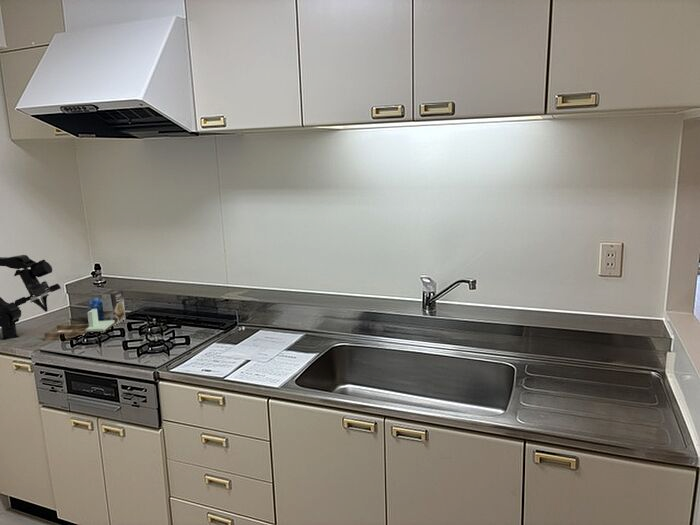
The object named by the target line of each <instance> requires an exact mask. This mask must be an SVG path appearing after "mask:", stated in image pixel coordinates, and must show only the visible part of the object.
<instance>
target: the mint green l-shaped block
mask: <svg viewBox="0 0 700 525" xmlns="http://www.w3.org/2000/svg"><path fill="white" fill-rule="evenodd" d="M87 320H88V324H89V327H88V328H87V329H85V331H104V330H105V329H107V328H108V327H109V326H110V325H112V324H113V323H114V322H115V320H109V321H104V320H98V313H97V309H92V310H89V311H87Z"/></svg>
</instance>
